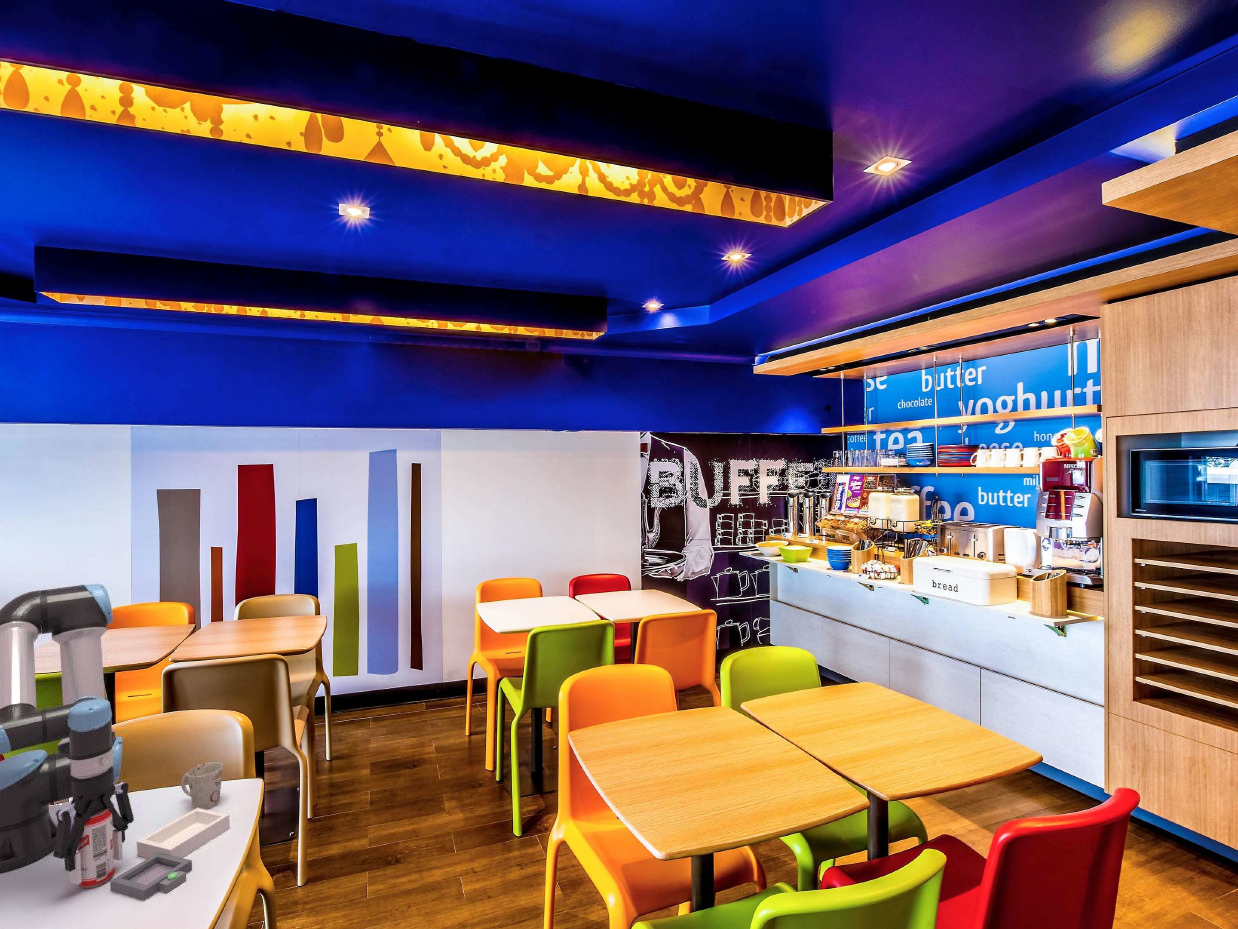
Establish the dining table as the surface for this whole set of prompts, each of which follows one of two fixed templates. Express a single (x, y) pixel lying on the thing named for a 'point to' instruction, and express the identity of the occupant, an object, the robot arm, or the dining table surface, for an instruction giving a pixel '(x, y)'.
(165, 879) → the frame
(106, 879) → the beer can
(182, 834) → the cream rectangular tray
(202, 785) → the mug
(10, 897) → the dining table surface
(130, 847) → the dining table surface
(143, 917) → the dining table surface
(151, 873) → the plate
